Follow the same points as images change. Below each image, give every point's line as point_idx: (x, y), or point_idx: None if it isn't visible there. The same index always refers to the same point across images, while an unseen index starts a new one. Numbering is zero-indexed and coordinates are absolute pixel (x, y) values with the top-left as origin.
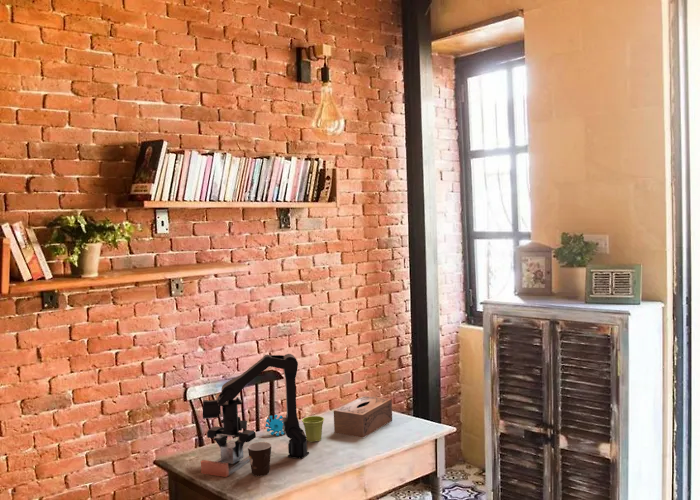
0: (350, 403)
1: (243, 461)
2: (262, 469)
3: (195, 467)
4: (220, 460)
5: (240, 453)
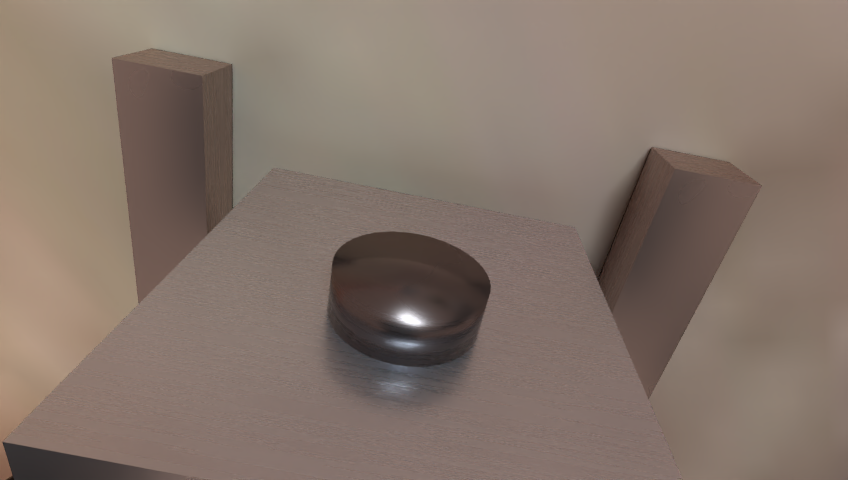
0: None
1: None
2: None
3: (3, 463)
4: None
5: None
